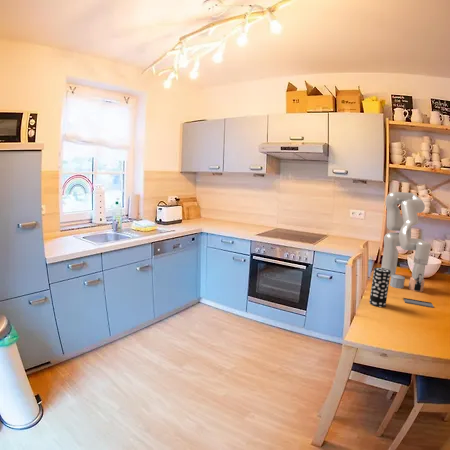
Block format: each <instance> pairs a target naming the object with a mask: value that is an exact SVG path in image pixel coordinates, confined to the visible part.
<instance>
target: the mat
mask: <svg viewBox="0 0 450 450" xmlns="http://www.w3.org/2000/svg"><path fill="white" fill-rule="evenodd" d="M402 299H403V301H404V304H409V305H415V306H419V307H426V308H431V309H433V308H434V304H433V303H432V302H430V301H426V300H425V301H424V300H418V299H412V298H406V297H403V298H402Z"/></svg>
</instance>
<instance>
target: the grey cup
mask: <svg viewBox="0 0 450 450" xmlns="http://www.w3.org/2000/svg"><path fill="white" fill-rule="evenodd" d="M405 280H406V277H405V276H404V275H400V274H396V275H391V277H390V280H389V286H390V287H392V288H394V289H404V287H405Z"/></svg>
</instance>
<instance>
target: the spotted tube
mask: <svg viewBox="0 0 450 450" xmlns="http://www.w3.org/2000/svg"><path fill="white" fill-rule="evenodd" d="M390 273H391V271H390V270H388V269H385V268H381V267H373V273H372V281H371V289H370V295H369V300H368V302H369V304H370V305H372V306H374V307H378V308H385V307H386V305H387V298H388V292H389V286H390V281H391V277H390Z"/></svg>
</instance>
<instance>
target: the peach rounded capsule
mask: <svg viewBox="0 0 450 450" xmlns="http://www.w3.org/2000/svg"><path fill="white" fill-rule="evenodd" d="M425 282H426V281H425V279H424V278H423V280H422V281H421V289H420V291H417V290H414V287H415V284H416V279H415V280H414V279H413V277H412V276H410V278H409V283H408V289H409V290H411V291H414V292H419V293H420V292H423V291H424V286H425Z"/></svg>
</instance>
